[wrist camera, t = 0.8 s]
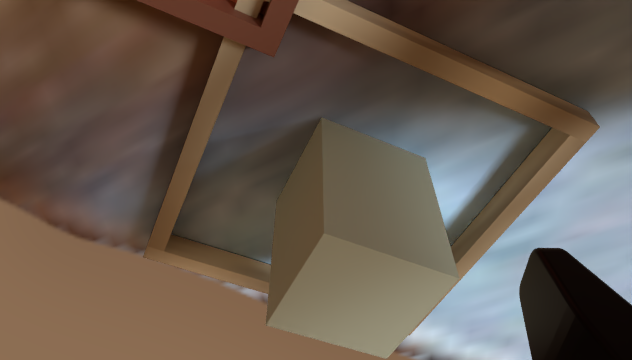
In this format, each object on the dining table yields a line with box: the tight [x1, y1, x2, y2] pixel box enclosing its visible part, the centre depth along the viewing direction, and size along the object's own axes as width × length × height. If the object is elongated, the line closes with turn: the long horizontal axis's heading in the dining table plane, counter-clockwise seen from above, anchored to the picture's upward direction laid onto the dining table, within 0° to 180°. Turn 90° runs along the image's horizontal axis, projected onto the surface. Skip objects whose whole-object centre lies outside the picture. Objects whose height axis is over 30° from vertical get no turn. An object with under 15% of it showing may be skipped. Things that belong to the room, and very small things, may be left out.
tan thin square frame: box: [143, 0, 600, 335], centre depth 24 cm, size 15×15×1 cm
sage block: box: [266, 118, 460, 359], centre depth 21 cm, size 5×5×7 cm
